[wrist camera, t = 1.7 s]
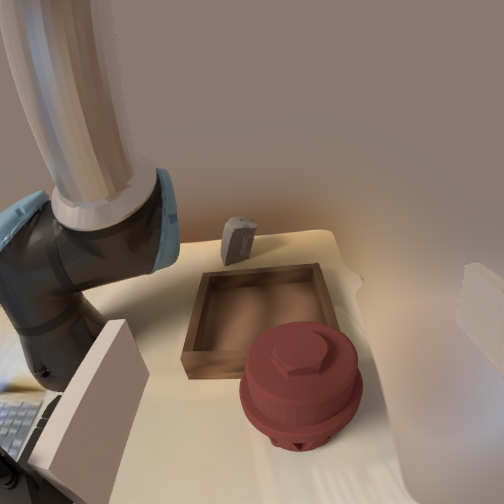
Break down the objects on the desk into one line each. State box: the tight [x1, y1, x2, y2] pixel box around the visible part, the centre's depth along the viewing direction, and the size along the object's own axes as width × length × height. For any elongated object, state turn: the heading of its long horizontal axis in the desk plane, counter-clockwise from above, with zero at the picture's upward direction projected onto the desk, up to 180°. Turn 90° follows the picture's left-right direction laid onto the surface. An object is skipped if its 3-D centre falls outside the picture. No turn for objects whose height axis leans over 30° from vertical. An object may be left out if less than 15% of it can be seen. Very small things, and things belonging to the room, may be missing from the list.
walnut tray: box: [181, 263, 340, 379], centre depth 40 cm, size 18×18×4 cm
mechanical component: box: [239, 321, 363, 452], centre depth 24 cm, size 12×10×10 cm
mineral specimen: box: [221, 217, 257, 266], centre depth 57 cm, size 7×9×8 cm
